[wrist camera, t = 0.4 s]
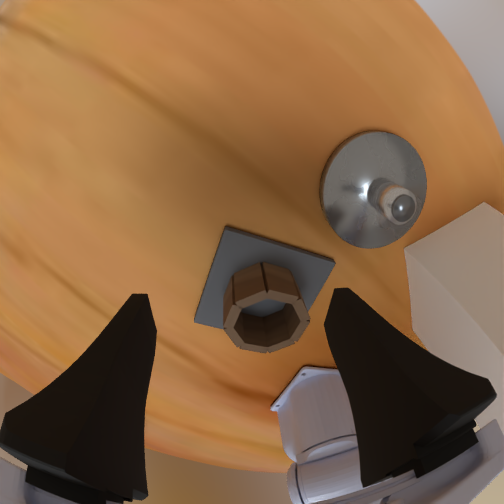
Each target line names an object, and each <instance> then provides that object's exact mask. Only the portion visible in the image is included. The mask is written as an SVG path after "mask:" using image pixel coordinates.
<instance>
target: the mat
mask: <svg viewBox="0 0 504 504" xmlns="http://www.w3.org/2000/svg"><path fill="white" fill-rule="evenodd" d="M259 262H260V264H261V265H262V263H263V262H266V263H269V264H273V265H276V266H280V267H283V268H287V269H289V271H291V272H292V274H293V276H294V278H295V281H296V283H297V285H298V287H299V289H300V292H301V295H302V297H303V300H304V303H305V305H306V308H307V311H309V309H310V307H311V306H312V304H313V302H314V301H315V299H316V297H317V295H318V294H319V292H320V290H321V289H322V287H323V285H324V283H325V282H326V280H327V278H328V276H329V275H330V273H331V271H332V269H333V267H334V266H335V264H336V263H335V261H334V260H333V259H330V258H327V257H324V256H321V255H318V254H314V253H311V252H308V251H305V250H302V249H299V248H295V247H292V246H289V245H286V244H282V243H279V242H276V241H273V240H270V239H266V238H263V237H260V236H257V235H253V234H250V233H247V232H243V231H240V230H237V229H233V228H230V227H227V226H225V228H224V231H223V234H222V237H221V240H220V243H219V245H218V248H217V251H216V254H215V257H214V260H213V263H212V266H211V269H210V272H209V275H208V278H207V281H206V284H205V287H204V290H203V293H202V296H201V299H200V302H199V305H198V308H197V311H196V314H195V318H194V322H195V323H199V324H203V325H207V326H211V327H216V328H220V329H224V327H223V296H224V294H225V291H226V288H227V286H228V283H229V281H230V278H231V276H234V273H236V272H238V271H240V270H242V269H245V268H247V267H249V266H252V265H254V264H256V263H259ZM285 304H286V303H284V302H280V301H276V300H272V299H265V300H262V301H260V302H257V303H255V304H253V305H250V306H248V307H245V308H243V309H242V310H241V312H242V313H245V314H250V315H254V316H259V317H265V316H267V315H270V314H272V313H275V312H277V311H280V310H282V309H283V307H284V306H285Z"/></svg>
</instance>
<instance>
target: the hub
mask: <svg viewBox="0 0 504 504" xmlns="http://www.w3.org/2000/svg"><path fill="white" fill-rule="evenodd" d="M426 190H427V179H426V172H425V168H424V165H423V162H422V160H421V158H420V156H419V154H418V153H417V151H416V150H415V149H414V148H413V147H412V145H411V144H410V143H408V142H407V141H406V140H404V139H403V138H401V137H399V136H397V135H394V134H391V133H386V132H381V131H366V132H362V133H358V134H356V135H354V136H351V137H350V138H348V139H347V140H345V141H344V142H343V143H341V144H340V145H339V146H338V147H337V148H336V149H335V151H334V152H333V153H332V155H331V156H330V158H329V159H328V161H327V163H326V165H325V167H324V170H323V173H322V177H321V181H320V202H321V207H322V211H323V213H324V216H325V218H326V220H327V221H328V223H329V225H330V226H331V227H332V228H333V230H334V231H335V232H336V233H337V234H338V235H339V236H340V237H341V238H342V239H343V240H344V241H346V242H348V243H349V244H351V245H354V246H357V247H360V248H379V247H383V246H386V245H388V244H391V243H393V242H394V241H396V240H398V239H399V238H401V237H402V236H403V235H404V234H405V233H406V232H408V230H409V229H410V228H411V227H412V226H413V224H414V223H415V222H416V220H417V218H418V217H419V215H420V213H421V210H422V208H423V205H424V202H425V197H426Z"/></svg>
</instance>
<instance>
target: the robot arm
mask: <svg viewBox="0 0 504 504" xmlns="http://www.w3.org/2000/svg"><path fill="white" fill-rule="evenodd" d="M324 327H325V332H326V336H327V340H328V344H329V347H330V350H331V352H332V355H333V358H334V360H335V363H336V365H337V368H338V369H327V368H317V367H308V366H306V367H303V368H302V369H301V370H300V371H299V373H298V374H297V375H296V376H295V378H294V379H293V380H292V382H291V383H290V384H289V385H288V387H287V388H286V389H285V390H284V391H283V393H282V394H281V395H280V396H279V398H278V399H277V400H276V401H275V402H274V404H273V405H272V406H271V407H270V409H271V410H272V411H277V413H278V419H279V425H280V431H281V437H282V444H283V448H284V451H285V453H286V454H287V455H288V457H289V458H290V459H292V460H293V461H295V462H296V463H292V464H291V466H290V468H289V469H288V471H287V485H288V491H289V495H290V497H291V500H292V503H293V504H469V503H470V502H471V501H473V499H474V498H476V496H477V495H479V494H480V493H481V492H482V490H484V489H485V488H486V487H487V485H489V484H490V483H491V481H492V480H493V479H495V478H496V477H497V476H498V475H499V474H500V472H502V471H503V470H504V435H503V433H502V431H501V429H500V426H499V424H498V422H497V420H496V419H493V420H492V421H491V422H489V423H488V424H487V425H485V426H484V427H482V428H481V429H480V430H478V431H477V432H476V433H475V432H474V430H473V428H474V427H476V422H475V420H474V419H475V418H476V417H477V416H478V415H479V414H480V413H482V412H483V411H484V410H485V409H486V408H487V407H488V406H489V405H490V404H491V403H492V402H493V401H494V400H495V399H496V397H497V393H496V392H495V390H494V388H493V386H492V384H491V382H490V381H489V379H487V378H484V377H482V376H479V375H476V374H473V373H470V372H467V371H465V370H463V369H460V368H458V367H456V366H454V365H452V364H450V363H448V362H446V361H444V360H442V359H440V358H438V357H437V356H435V355H433V354H431V353H430V352H428V351H427V350H425V349H423V348H422V347H420V346H419V345H417V344H416V343H415V342H413V341H412V340H410V339H409V338H407V337H406V336H405V335H404V334H402V333H401V332H400V331H398V330H397V329H396V328H395V327H393V326H392V325H391V324H390V323H389V322H387V321H386V320H385V319H384V318H383V317H382V316H380V315H379V314H378V313H377V312H376V311H375V310H374V309H372V308H371V307H370V306H369V305H368V304H367V303H366V302H364V301H363V300H362V299H361V298H360V297H359V296H358V295H357V294H355V293H354V292H353V291H352V290H351V289H349V288H334V292H333V295H332V299H331V302H330V306H329V309H328V313H327V316H326V319H325V322H324ZM156 335H157V329H156V326H155V322H154V318H153V314H152V310H151V307H150V302H149V298H148V294H132V295H131V296H130V297H129V298H128V300H127V301H126V302H125V303H124V305H123V306H122V307H121V308H120V310H119V311H118V312H117V314H116V315H115V316H114V317H113V319H112V320H111V321H110V322H109V324H108V325H107V326H106V327H105V329H104V330H103V331H102V332H101V334H100V335H99V336H98V337H97V338H96V339H95V341H94V342H93V343H92V344H91V345H90V346H89V347H88V349H87V350H86V351H85V352H84V353H83V354H82V355H81V356H80V357H79V358H78V359H77V360H76V361H75V362H74V363H73V364H72V365H71V366H70V367H69V368H68V369H67V370H66V371H65V372H63V373H62V374H61V375H60V376H59V377H58V378H56V379H55V380H54V381H53V382H52V383H51V384H49V385H48V386H47V387H45V388H44V389H43V390H41V391H40V392H39V393H37V394H36V395H34V396H33V397H32V398H30V399H29V400H27V401H25V402H24V403H22V404H21V405H19V406H17V407H15V408H14V409H12V410H10V411H9V412H6V413H5V417H4V419H3V423H2V426H1V430H0V447H1V448H2V449H3V450H5V451H6V452H8V453H9V454H11V455H12V456H14V457H15V458H17V459H18V460H20V461H22V462H23V463H25V464H27V465H28V468H27V471H26V470H24V469H22V468H20V467H18V466H16V465H14V464H12V463H10V462H8V461H7V460H5V459H3V458H1V457H0V504H123V501H129V502H132V501H133V499H135V500H144V499H145V498H146V497H147V496H148V490H147V480H146V471H145V453H144V422H145V406H146V399H147V393H148V388H149V382H150V377H151V372H152V366H153V361H154V356H155V348H156Z"/></svg>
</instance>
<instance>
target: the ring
mask: <svg viewBox="0 0 504 504" xmlns="http://www.w3.org/2000/svg"><path fill="white" fill-rule="evenodd" d="M265 299H272V300H276V301H280V302H284V303H286V304H285V306H284V307H283V309H282V310H280V311H277V312H275V313H272V314H270V315H267V316H265V317H259V316H254V315H250V314H245V313H242V312H241V310H242V309H243V308H245V307H248V306H250V305H253V304H255V303H257V302H260V301H262V300H265ZM309 323H310V316H309V314H308V311H307V308H306V305H305V303H304V300H303V297H302V295H301V292H300V289H299V287H298V285H297V283H296V281H295V278H294V276H293V274H292V272H291V271H289V269H287V268H283V267H280V266H276V265H273V264H269V263H266V262H263V263H262V265H261V264H260V262H259V263H256V264H254V265H252V266H249V267H247V268H245V269H242V270H240V271H238V272H236V273H234V276H231V278H230V281H229V283H228V286H227V288H226V291H225V294H224V296H223V327H224V331H225V332H226V334H227V335H228V336H229V338H230V339H231V340H232V341H233V343H234V344H235V345H236V347H239V346H240V349H244V350H249V351H254V352H260V353H266V352H267V351H268V352H269V353H271V352H274V351H276V350H279V349H282V348H284V347H287V346H290V345H292V344H295V342H294V341H298V340H299V338H300V337H301V335H302V334H303V332H304V331H305V329H306V327H307V326H308V324H309Z"/></svg>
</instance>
